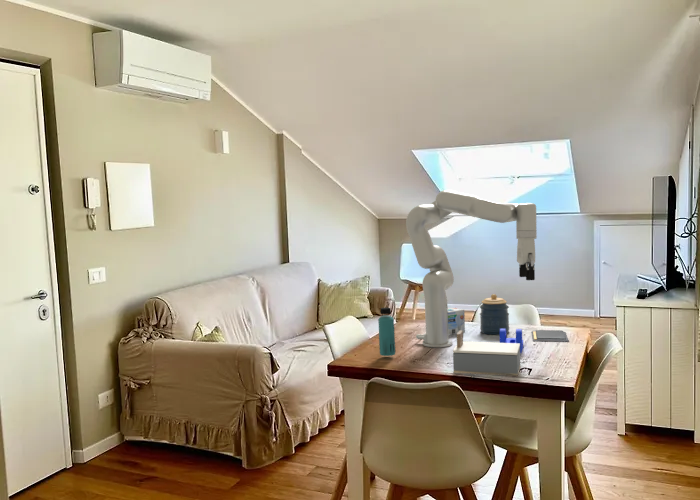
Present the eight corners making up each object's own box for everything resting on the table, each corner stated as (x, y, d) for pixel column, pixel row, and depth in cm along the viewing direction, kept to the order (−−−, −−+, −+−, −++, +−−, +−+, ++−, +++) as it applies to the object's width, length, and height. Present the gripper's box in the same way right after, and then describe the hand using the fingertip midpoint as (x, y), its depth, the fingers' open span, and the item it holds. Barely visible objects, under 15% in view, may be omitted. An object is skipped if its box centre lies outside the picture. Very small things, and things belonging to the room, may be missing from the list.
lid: (453, 352, 214) (452, 336, 213) (459, 343, 227) (459, 328, 227) (517, 355, 206) (516, 338, 206) (520, 345, 220) (519, 329, 219)
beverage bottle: (391, 360, 235) (389, 309, 233) (376, 358, 238) (374, 308, 237) (398, 356, 240) (397, 306, 239) (384, 354, 244) (382, 306, 242)
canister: (476, 333, 275) (475, 295, 273) (485, 328, 286) (484, 291, 284) (504, 336, 268) (503, 296, 267) (513, 330, 279) (512, 292, 278)
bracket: (521, 353, 237) (521, 331, 237) (499, 352, 240) (499, 330, 239) (523, 343, 254) (523, 322, 254) (503, 342, 257) (503, 321, 256)
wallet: (569, 339, 251) (531, 338, 256) (569, 343, 251) (531, 342, 256) (566, 329, 270) (531, 328, 275) (566, 333, 270) (531, 332, 275)
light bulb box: (447, 335, 274) (446, 312, 273) (438, 333, 280) (437, 310, 279) (465, 332, 279) (465, 309, 278) (456, 329, 285) (455, 307, 284)
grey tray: (453, 372, 214) (453, 353, 214) (460, 362, 228) (459, 344, 227) (517, 376, 207) (517, 356, 206) (520, 365, 220) (520, 346, 220)
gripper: (511, 234, 243) (511, 276, 245) (522, 236, 226) (523, 281, 228) (530, 233, 243) (530, 275, 245) (542, 235, 226) (543, 281, 227)
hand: (526, 278), depth 236 cm, fingers open, 9 cm apart
